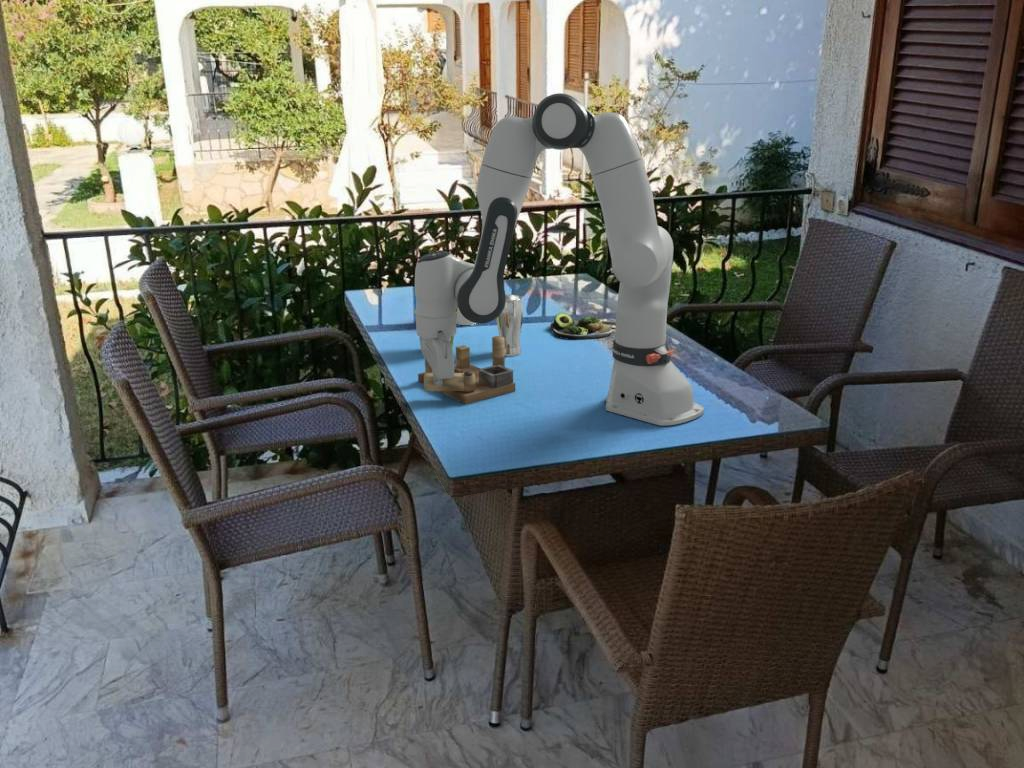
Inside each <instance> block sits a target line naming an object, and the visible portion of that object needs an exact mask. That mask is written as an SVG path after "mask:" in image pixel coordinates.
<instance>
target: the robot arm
mask: <svg viewBox="0 0 1024 768" xmlns="http://www.w3.org/2000/svg"><path fill="white" fill-rule="evenodd" d="M551 149H552V150H558V151H559V150H560V151H563V150H569V149H579V150H580V151H581V153H582V154H583V155H584V157H585V160H586V163H587V165H588V169H589V173H590V175H591V179H592V182H593V185H594V188H595V193H596V195H597V199H598V201H599V204H600V207H601V212H602V215H603V222H604V227H605V228H604V229H605V233H606V239H607V245H608V249H609V254H610V258H611V268H612V272H613V275H614V276H615V278H616V279H617V280H618V282H619V288H618V289H619V290H618V295H617V301H616V306H615V322H616V325H614V326H615V329H614V330H615V331H614V332H615V333H614V335H615V336H614V339H613V341H612V348H611V350H612V357H613V365H612V369H611V370H612V371H611V375H610V382H609V388H608V392H607V396H606V398H605V402H606V404H605V410H606V411H608V412H610V413H614V414H617V415H621V416H625V417H628V418H631V419H632V418H633V419H636V420H639V421H643V422H647V423H649V424H653V425H656V426H661V427H665V426H673V425H674V426H675V425H679V424H683V423H687V422H690V421H692V420H695V419H697V418H699V417H700V416H702V415H704V413H705V409H704V407H703V406H702V405H700V404H699V403H696V402H694V391H693V386H692V384H691V382H690V381H689V380H688V379H687V378H686V377H685V376H684V374H682V373H681V371H680V370H679V369H678V367H677V366H676V365H675V364H674V363H673V361H672V356H673V355H675V353H674V352H675V349H671V350H670V349H669V345H668V342H667V339H666V336H667V317H668V316H667V315H668V303H669V295H670V287H671V282H672V281H671V279H672V270H673V260H674V241H673V239H672V237H671V234H669V232H668V231H667V230H666V229H665V228H663V226H660V225H658V220H657V216H656V210H655V201H654V193H653V190H652V187H651V185H650V184H651V183H650V181H649V177H648V174H647V170H646V167H645V163H644V160H643V158H642V154H641V151H640V148H639V145H638V143H637V140H636V138H635V136H634V133H633V131H632V129H631V126H630V125H629V123H628V121H627V120H626V118H625V117H624V116H623V115H622V114H620V113H618V112H612V111H611V112H610V111H609V112H603V113H599V114H593V113H592V112H591V111H590V110H589V109H588V108H586V106H584V104H582V103H581V102H580V101H579V100H578V99H577V98H575V96H572V95H570V94H567V93H559V92H558V93H554V94H550V95H548V96H546V97H545V98H543V99H542V100H541V101H540V102H539V103H538V104H537V106H536V107H535V110H534V112H533V115H532V116H530V117H528V118H527V117H526V118H524V117H519V116H507V117H503V118H502V119H500V120H499V121H498V122H496V124H495V126H494V128H493V131H492V132H491V135H490V136H489V140H488V141H487V145H486V147H485V150H484V154H483V157H482V159H481V164H480V167H479V172H478V178H477V188H476V198H477V202H478V206H479V210H480V214H481V215H480V216H481V222H482V223H481V225H482V226H481V234H480V235H481V236H480V240H479V243H478V244H479V245H478V247H477V253H476V258H475V261H474V263H470V262H467V261H465V260H462V259H460V258H458V257H457V256H455V255H454V254H452V253H451V252H450V251H446V250H442V251H441V250H438V251H432V252H429V253H426V254H424V255H422V256H420V258H419V259H418V260H417V262H416V264H415V265H416V266H415V269H414V296H415V299H416V308H415V310H416V315H415V327H416V328H415V329H416V331H415V332H416V335H417V336H418V337H419V344H420V349H421V353H422V355H423V357H424V359H425V358H426V360H427V362H428V363H429V365H430V366H431V369H432V374H433V383H434V385H435V386H442V384H443V383H442V379H446V378H453V376H454V365H455V359H454V349H453V347H452V344H451V342H450V341H451V336H453V335H454V336H455V335H456V334H457V324H456V309H458V308H459V310H460V312H461V314H462V315H463V316H464V317H465V318H466V319H467V320H469V321H471V322H474V323H477V324H488V323H491V322H492V321H494V320H496V318H497V317H498V316H499V315H500V314H501V313H502V311H503V309H504V307H505V302H506V296H505V295H506V291H505V284H504V275H505V270H506V266H507V261H508V259H509V258H508V256H509V253H510V249H511V244H512V240H513V235H514V231H515V228H516V225H517V222H518V219H519V217H520V216H519V215H520V213H521V211H522V208H523V205H524V203H525V200H526V198H527V194H528V191H529V188H530V184H531V181H532V177H533V175H534V171H535V167H536V163H537V160H538V159H539V156H540V155H541V154H542V152H544V151H546V150H551Z"/></svg>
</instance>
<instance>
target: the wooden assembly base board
mask: <svg viewBox="0 0 1024 768" xmlns="http://www.w3.org/2000/svg"><path fill="white" fill-rule="evenodd" d="M455 361H456V362H455V364H454V373H464V372H465V371H472V373H474V374H475V390H474V391H470V392H467V391H438V392H440V393H441V394H443V395H445V394H446V395H445V396H447V395H448V396H447V397H449V396H450V397H449V398H451V397H452V398H451V399H453V398H454V400H455V401H458V400H459V401H458V402H460V401H461V402H460V403H462V402H463V404H464V403H465V404H464V405H466V404H467V405H470V404H469V403H471V404H474V403H478V402H481V400H482V401H485V400H489V399H492V398H496V397H499V396H498V395H500V396H503V395H507V394H510V392H511V393H514V392H516V382H514V370H513V369H511V368H508V367H506V366H505V367H504V366H501V365H497V366H496V365H494V366H493V365H491V366H487V367H482V368H480V367H478V366H476V365H473V364H471V352H470V347H469V346H467V345H464V344H462V345H459V346H455ZM424 369H425V370H424V372H420V373H418V374H417V379H418V380H417V382H418V383H421V384H423V385H424V374H425V373H432V369H431V366H430V365H429V363H428V362H427V360H426V358H425V357H424ZM513 391H514V392H513ZM502 394H503V395H502ZM495 396H496V397H495ZM488 398H489V399H488ZM477 401H478V402H477ZM473 402H474V403H473Z"/></svg>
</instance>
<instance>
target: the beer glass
mask: <svg viewBox="0 0 1024 768" xmlns="http://www.w3.org/2000/svg"><path fill="white" fill-rule="evenodd" d="M505 296H506V302H505V307H504V309H503V311H502V313H501V314H500V315H499V316H498V317H497V318H496V319H495V320H496V326H497V331H498V336H502V337H504V340H505V357H517V356H520V355H521V354H522V348H521V332H522V326H523V321H524V320H523V317H524V309H523V307H524V305H523V297H522V296H521V295H518V294H505Z"/></svg>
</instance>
